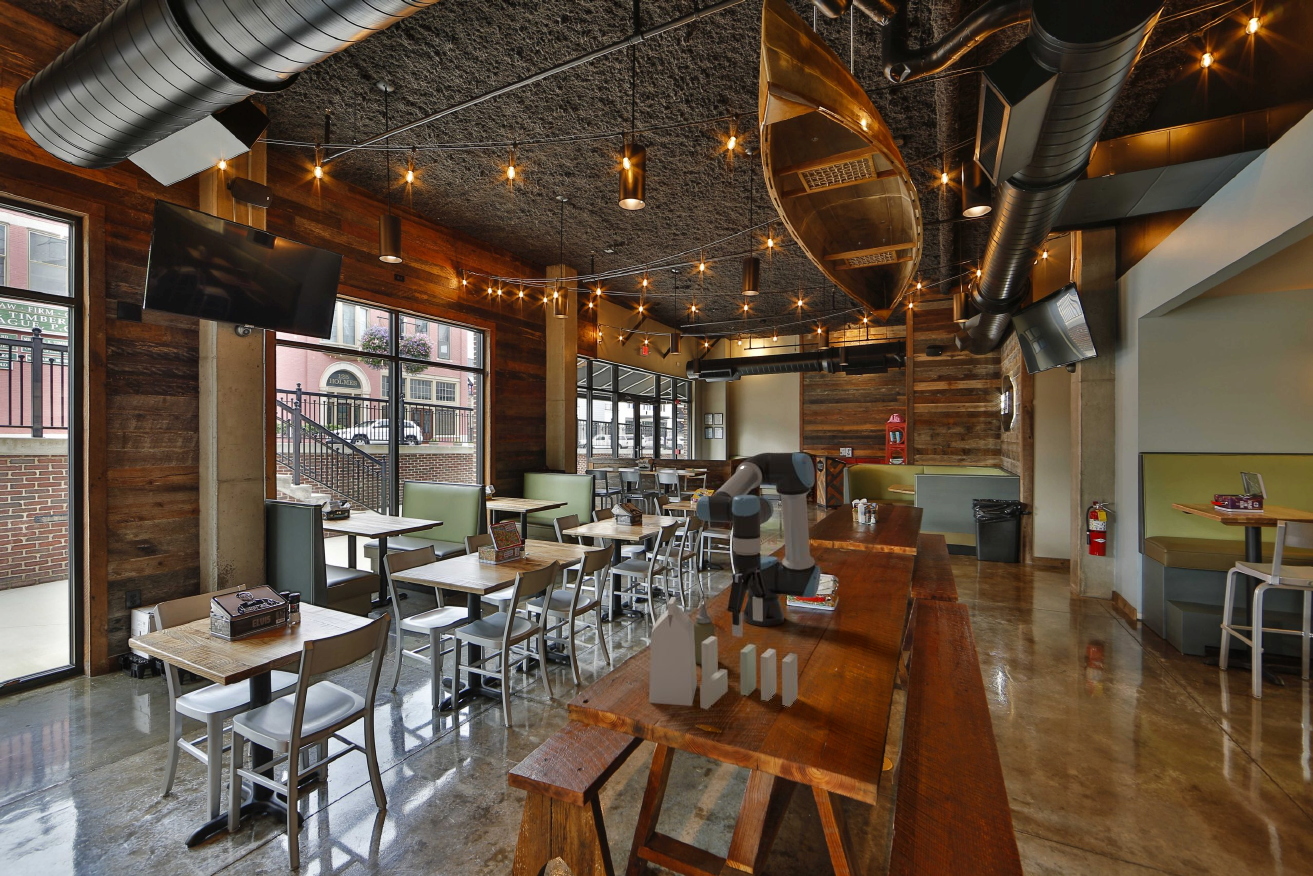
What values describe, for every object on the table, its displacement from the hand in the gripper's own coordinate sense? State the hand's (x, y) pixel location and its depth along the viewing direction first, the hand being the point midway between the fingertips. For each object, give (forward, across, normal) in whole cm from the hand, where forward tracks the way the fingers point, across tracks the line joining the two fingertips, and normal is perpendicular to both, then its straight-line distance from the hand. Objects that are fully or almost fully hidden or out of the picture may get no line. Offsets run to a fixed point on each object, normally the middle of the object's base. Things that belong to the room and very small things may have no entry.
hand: (748, 628), depth 159 cm
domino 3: (+18, 0, 0) cm, 18 cm away
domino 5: (+18, 0, +12) cm, 21 cm away
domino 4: (+18, 0, +6) cm, 19 cm away
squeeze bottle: (+18, -10, -20) cm, 29 cm away
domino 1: (+18, 0, -12) cm, 21 cm away
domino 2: (+15, +3, -6) cm, 16 cm away
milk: (+18, +12, -17) cm, 28 cm away
